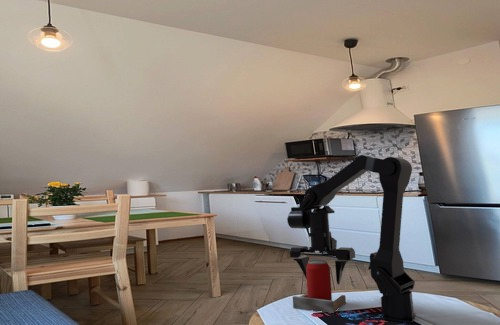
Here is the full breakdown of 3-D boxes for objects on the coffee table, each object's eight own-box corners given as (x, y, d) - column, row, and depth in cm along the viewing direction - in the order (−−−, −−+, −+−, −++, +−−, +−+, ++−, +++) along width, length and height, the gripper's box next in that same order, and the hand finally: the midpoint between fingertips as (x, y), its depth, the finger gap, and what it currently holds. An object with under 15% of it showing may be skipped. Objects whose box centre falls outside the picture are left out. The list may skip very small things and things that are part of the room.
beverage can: (330, 302, 96) (327, 259, 98) (333, 308, 90) (331, 262, 92) (307, 302, 97) (305, 259, 99) (308, 308, 90) (306, 263, 92)
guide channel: (345, 302, 95) (345, 291, 95) (332, 313, 86) (331, 301, 86) (309, 298, 101) (308, 287, 101) (293, 308, 92) (292, 296, 92)
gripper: (358, 226, 101) (362, 279, 99) (302, 227, 111) (305, 275, 109) (347, 229, 92) (351, 288, 90) (287, 229, 102) (290, 282, 100)
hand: (323, 282), depth 97 cm, fingers open, 9 cm apart
